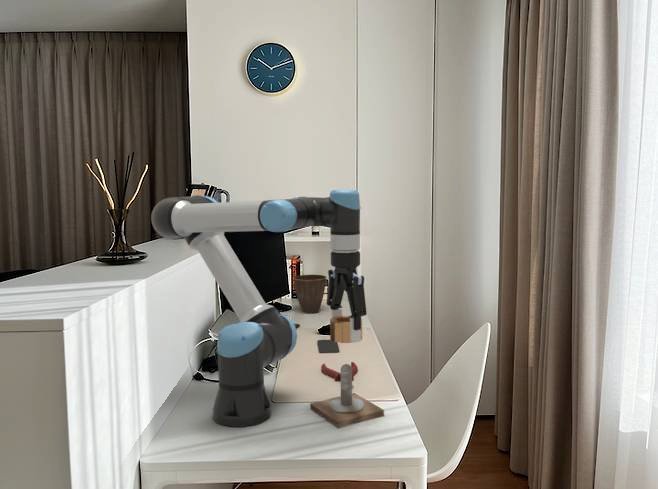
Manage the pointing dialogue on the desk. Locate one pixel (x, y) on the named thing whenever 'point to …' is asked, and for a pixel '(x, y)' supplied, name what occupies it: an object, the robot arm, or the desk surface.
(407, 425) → the desk surface
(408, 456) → the desk surface
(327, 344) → the phone
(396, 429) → the desk surface
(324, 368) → the pliers
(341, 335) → the light wood ring
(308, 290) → the plant pot
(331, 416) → the bobbin stand
